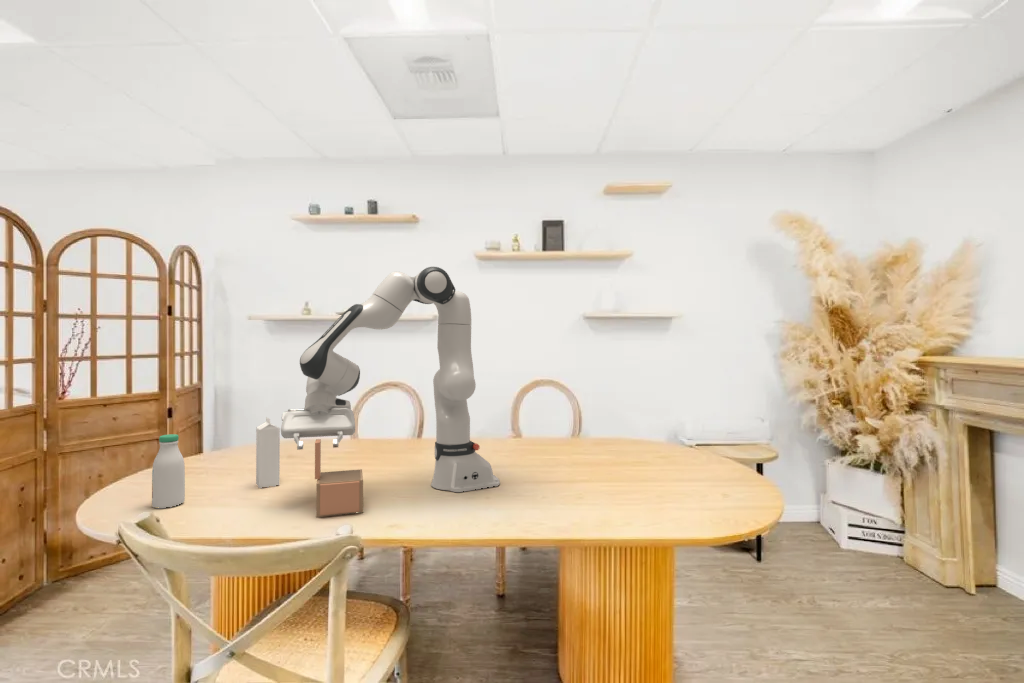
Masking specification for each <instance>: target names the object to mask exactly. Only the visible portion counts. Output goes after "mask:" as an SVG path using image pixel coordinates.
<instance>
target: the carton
mask: <svg viewBox="0 0 1024 683" xmlns="http://www.w3.org/2000/svg"><path fill="white" fill-rule="evenodd" d="M363 476H364V475H363V469H361V468H360V469H347V470H335V471H322V472H321V475H320V479H316V486H315V490H316V491H315V492H316V496H315V497H316V498H315V500H316V501H315V506H316V508H315V510H316V513H315V514H316V516H315V517H316V518H324V517H325V518H326V517H332V516H333V517H334V516H335V517H336V516H343V515H342V514H345V515H349V514H348V513H355V514H357V513H356V512H363V513H364V477H363Z"/></svg>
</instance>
